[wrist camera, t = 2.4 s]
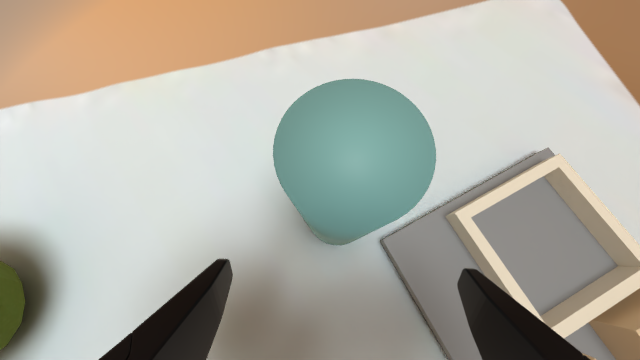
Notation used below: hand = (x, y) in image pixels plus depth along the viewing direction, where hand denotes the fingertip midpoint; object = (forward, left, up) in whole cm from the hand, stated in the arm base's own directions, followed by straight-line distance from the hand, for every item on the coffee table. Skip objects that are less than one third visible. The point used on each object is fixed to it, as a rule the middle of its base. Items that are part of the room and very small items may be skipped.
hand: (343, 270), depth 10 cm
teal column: (+2, +3, -11) cm, 11 cm away
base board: (+12, -9, -11) cm, 18 cm away
